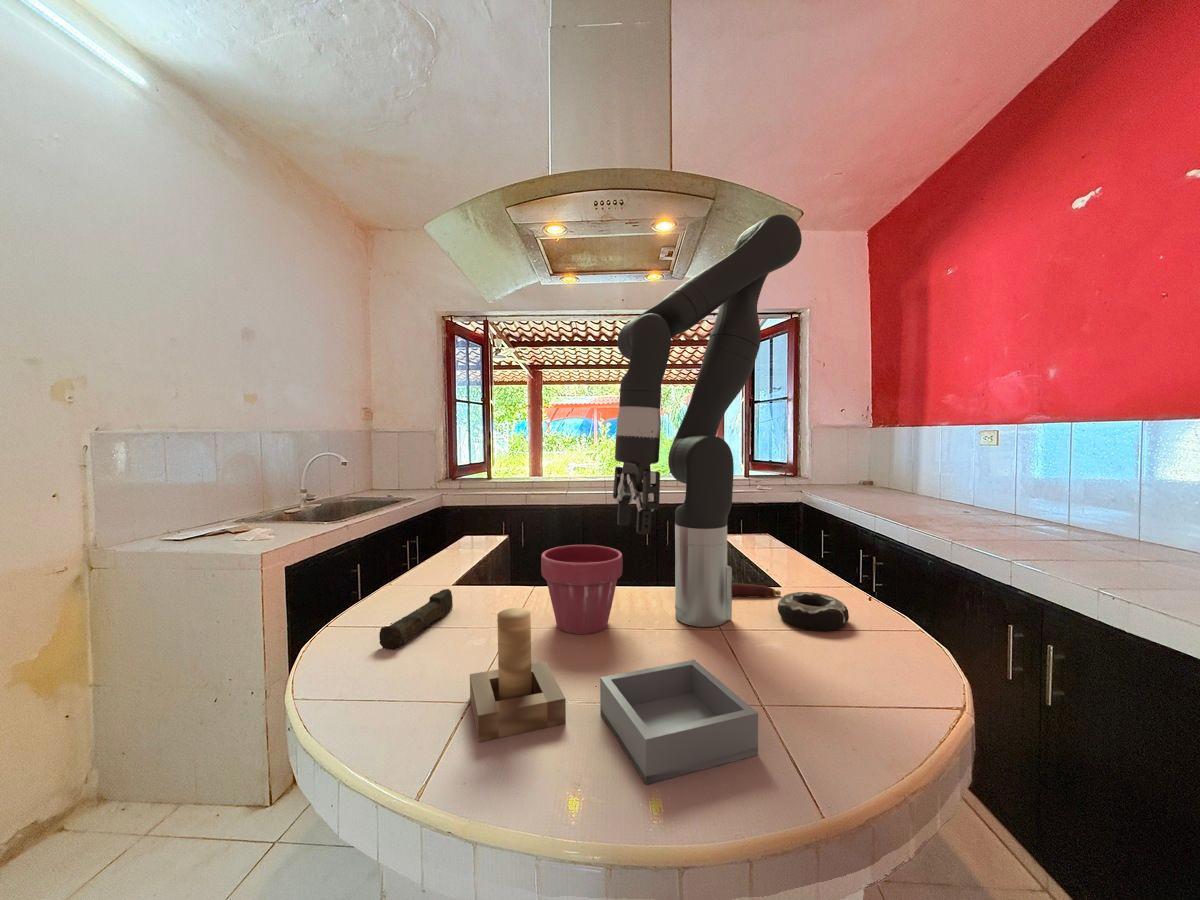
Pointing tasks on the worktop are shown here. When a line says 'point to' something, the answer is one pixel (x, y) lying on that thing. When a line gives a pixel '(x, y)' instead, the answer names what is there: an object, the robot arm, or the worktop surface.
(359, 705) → the worktop surface
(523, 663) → the dowel
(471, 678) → the socket block
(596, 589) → the plant pot
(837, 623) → the donut
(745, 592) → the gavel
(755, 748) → the tray
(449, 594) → the hand tool
